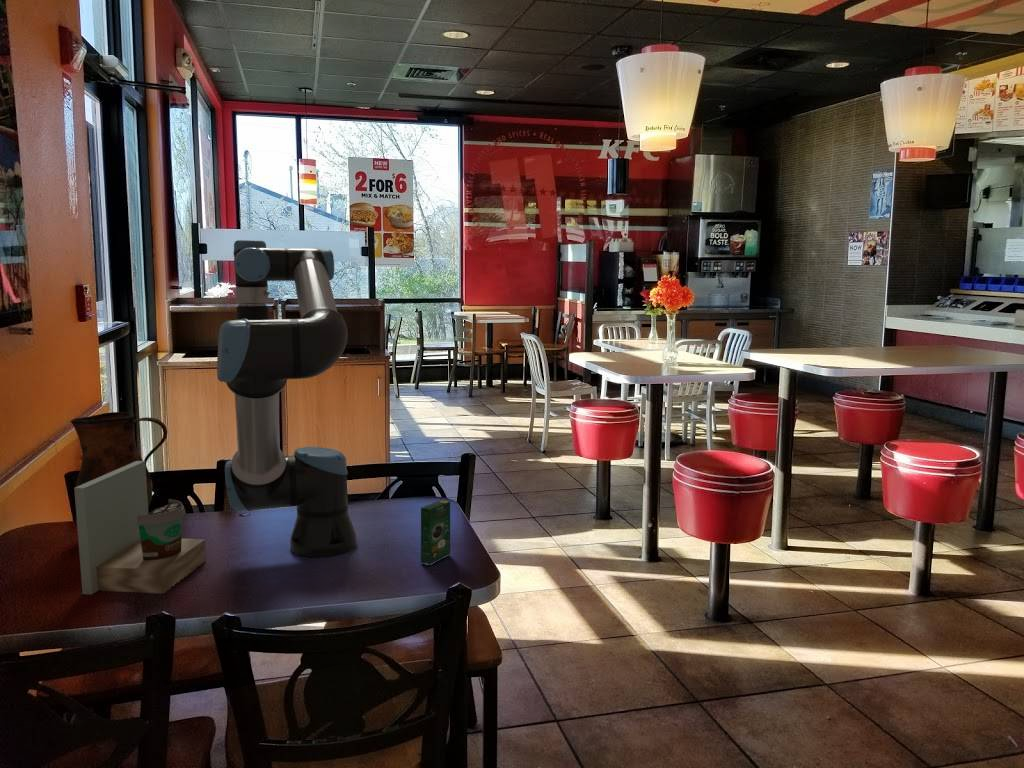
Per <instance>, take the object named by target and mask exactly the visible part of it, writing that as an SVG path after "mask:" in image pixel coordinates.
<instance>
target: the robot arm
mask: <svg viewBox="0 0 1024 768" xmlns="http://www.w3.org/2000/svg"><path fill="white" fill-rule="evenodd" d="M233 263H234V264H233V267H234V278H235V281H234V282H235V288H234V289H235V303H236V304H238V305H237V306H236V319H234V320H227V321H225V322H223V323H222V324H221V326H220V328H219V334H218V343H217V358H216V374H217V375H216V377H217V380H218V381H219V382H224V383H226V385H227V388H228V389H229V390H230V392H231V393H233V394H234V403H235V404H234V405H235V406H234V408H235V409H234V410H235V423H236V442H237V451H236V452H235V453H234V455H233V457H232V458H231V459H228V460H226V462H225V464H224V478H225V481H224V482H225V486H226V494H227V499H228V503H229V505H230V507H231V508H232V509H233V510H235V511H240V512H241V511H248V512H252V511H257V510H259V511H260V510H267V509H279V508H287V507H288V508H290V507H296V519H295V523H294V525H293V529H292V532H291V535H290V540H289V542H290V545H289V546H290V551H291V552H292V553H293V554H296V555H297V556H298V555H299V556H303V557H311V558H312V557H314V558H319V557H320V558H323V557H333V556H337V555H341V554H345V553H347V552H349V551H351V550H353V549H354V548H355V547H356V546H357V535H356V534H357V533H356V530H355V528H354V526H353V523H352V521H351V517H350V515H349V508H348V507H349V503H348V500H349V499H348V498H349V497H348V477H347V476H348V474H349V471H348V468H347V467H348V465H347V458H346V455H345V454H344V453H343V452H341V451H339V450H337V449H334V448H333V449H332V448H329V447H323V446H322V447H321V446H304V447H303V446H302V447H298V448H295V450H294V453H293V455H285V453H284V452H283V451H282V450H281V448H280V392H281V391H283V389H284V388H285V387H286V384H287V382H288V380H300V379H301V380H303V379H311V378H313V377H317V376H319V375H322V374H324V373H325V372H326V371H328V370H329V369H331V368H332V367H333V366H334V365H335V364H336V363H337V361H339V360H340V357H342V355H343V353H344V352H345V349H346V346H347V343H348V335H349V333H348V327H347V323H346V320H345V318H344V317H343V315H342V314H341V313H340V312H338V308H337V305H336V300H335V297H334V294H333V293H334V292H333V290H332V286H331V281H332V280H333V279H334V276H335V259H334V253H333V251H332V250H331V249H327V248H318V247H313V248H310V247H309V248H308V247H306V248H301V247H300V248H299V247H297V248H295V247H294V248H293V247H292V248H285V247H282V248H281V247H267V243H266V242H265V241H264V240H256V239H252V240H251V239H248V240H247V239H243V240H242V239H240V240H239V239H237V240H235V241H234V243H233ZM269 282H294V287H295V291H296V296H297V304H298V307H299V308H298V309H299V314H300V318H280V319H270V307H269V306H268V305H267V304H268V303H269V295H270V294H271V293H270V291H269V285H268V283H269Z"/></svg>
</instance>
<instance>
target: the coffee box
mask: <svg viewBox="0 0 1024 768" xmlns="http://www.w3.org/2000/svg"><path fill="white" fill-rule="evenodd" d="M448 554H450V555H451V501H449V500H444V499H440V500H438V501H435V502H433V503H430V504H427V505H425V506H422V507H420V563H421V562H422V563H428V564H431V563H433V562H435V561H437V560H439V559H441V558H442V557H444V556H446V555H448Z"/></svg>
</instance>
